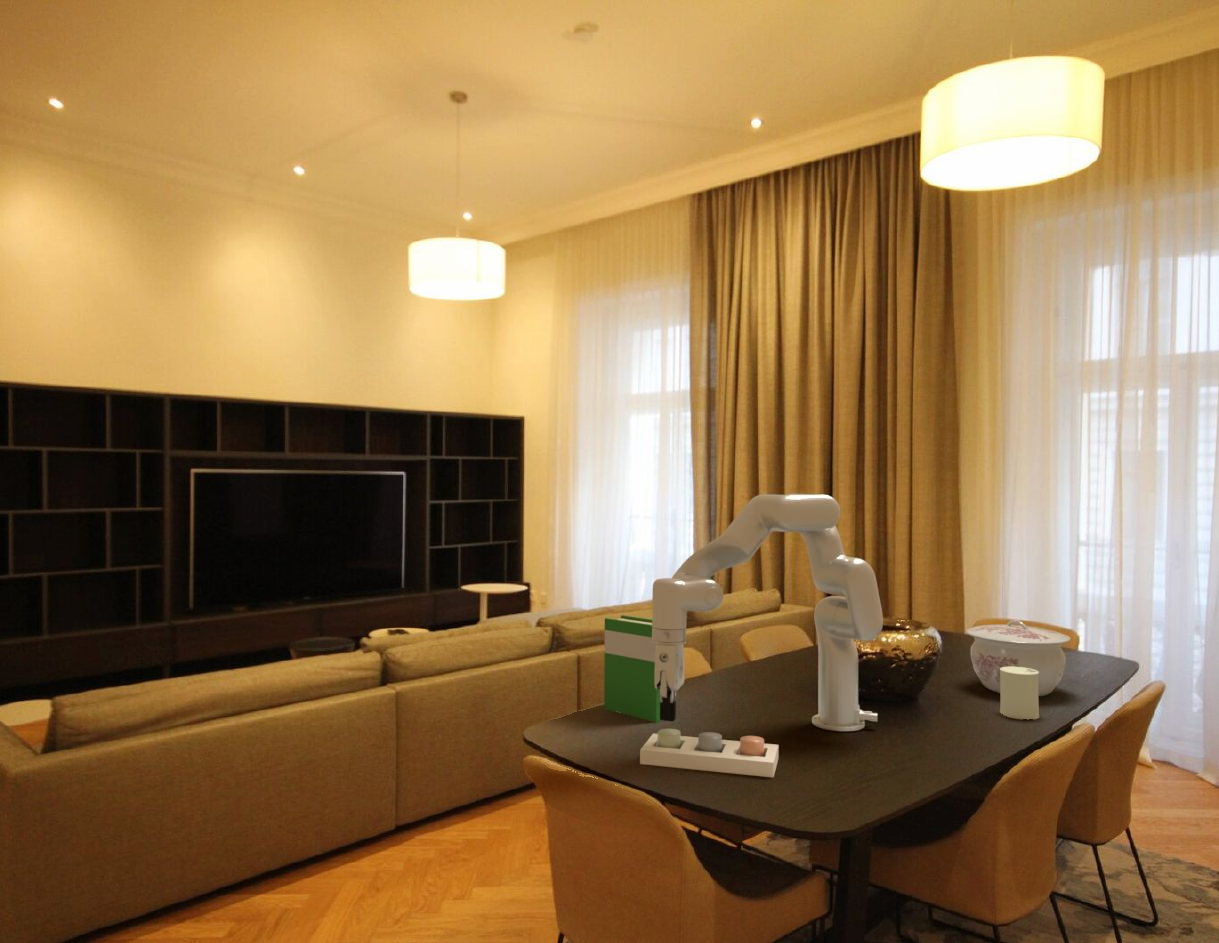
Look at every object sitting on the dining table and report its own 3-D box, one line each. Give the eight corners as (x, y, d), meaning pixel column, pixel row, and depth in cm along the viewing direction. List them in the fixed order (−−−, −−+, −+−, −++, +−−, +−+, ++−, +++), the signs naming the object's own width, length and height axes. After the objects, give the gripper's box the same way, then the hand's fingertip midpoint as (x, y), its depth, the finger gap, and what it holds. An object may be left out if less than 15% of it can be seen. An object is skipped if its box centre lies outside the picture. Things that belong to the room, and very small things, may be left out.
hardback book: (604, 709, 218) (604, 618, 219) (622, 703, 224) (623, 615, 224) (656, 722, 207) (656, 626, 207) (674, 716, 212) (674, 622, 212)
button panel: (778, 758, 180) (778, 744, 180) (773, 777, 168) (773, 762, 168) (653, 746, 187) (653, 733, 188) (640, 763, 176) (640, 749, 176)
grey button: (723, 751, 179) (723, 733, 180) (719, 759, 175) (719, 740, 175) (700, 749, 181) (700, 731, 181) (696, 756, 176) (696, 737, 176)
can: (1044, 720, 209) (1044, 673, 209) (1005, 718, 211) (1004, 671, 211) (1033, 711, 218) (1033, 665, 218) (995, 708, 220) (995, 663, 220)
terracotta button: (765, 755, 177) (765, 736, 177) (762, 763, 172) (762, 743, 172) (741, 753, 178) (741, 734, 178) (738, 760, 174) (738, 741, 174)
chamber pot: (1071, 709, 219) (1070, 631, 219) (959, 696, 233) (959, 622, 233) (1072, 687, 243) (1071, 616, 244) (971, 676, 257) (970, 609, 257)
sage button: (682, 747, 182) (682, 729, 182) (678, 754, 177) (678, 736, 177) (660, 745, 183) (660, 727, 183) (655, 752, 179) (655, 734, 179)
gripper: (678, 642, 172) (677, 731, 172) (692, 631, 187) (691, 712, 186) (644, 640, 175) (642, 727, 174) (659, 629, 189) (658, 709, 188)
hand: (667, 719), depth 180 cm, fingers closed
